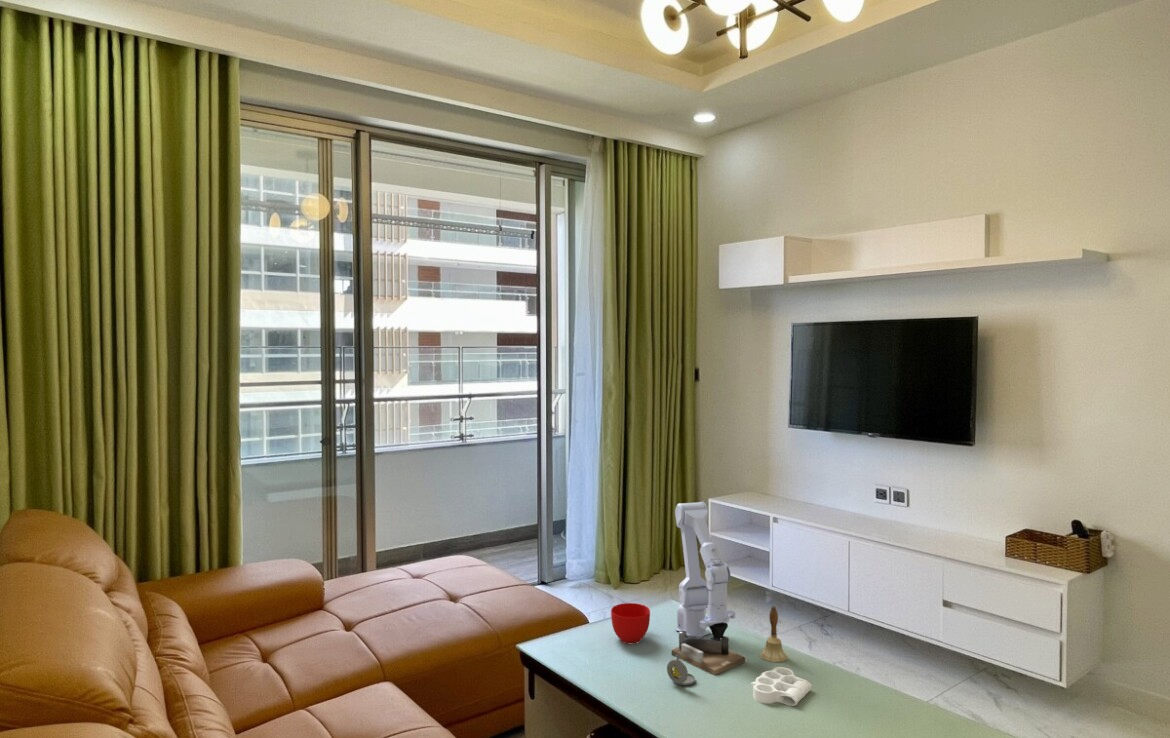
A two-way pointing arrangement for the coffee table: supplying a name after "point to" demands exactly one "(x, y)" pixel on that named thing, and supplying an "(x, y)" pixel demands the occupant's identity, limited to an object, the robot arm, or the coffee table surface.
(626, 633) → the ceramic cup
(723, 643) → the lever
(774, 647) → the hand bell
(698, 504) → the robot arm
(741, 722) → the coffee table surface
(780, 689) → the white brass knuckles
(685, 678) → the pocket watch
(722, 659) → the press base
